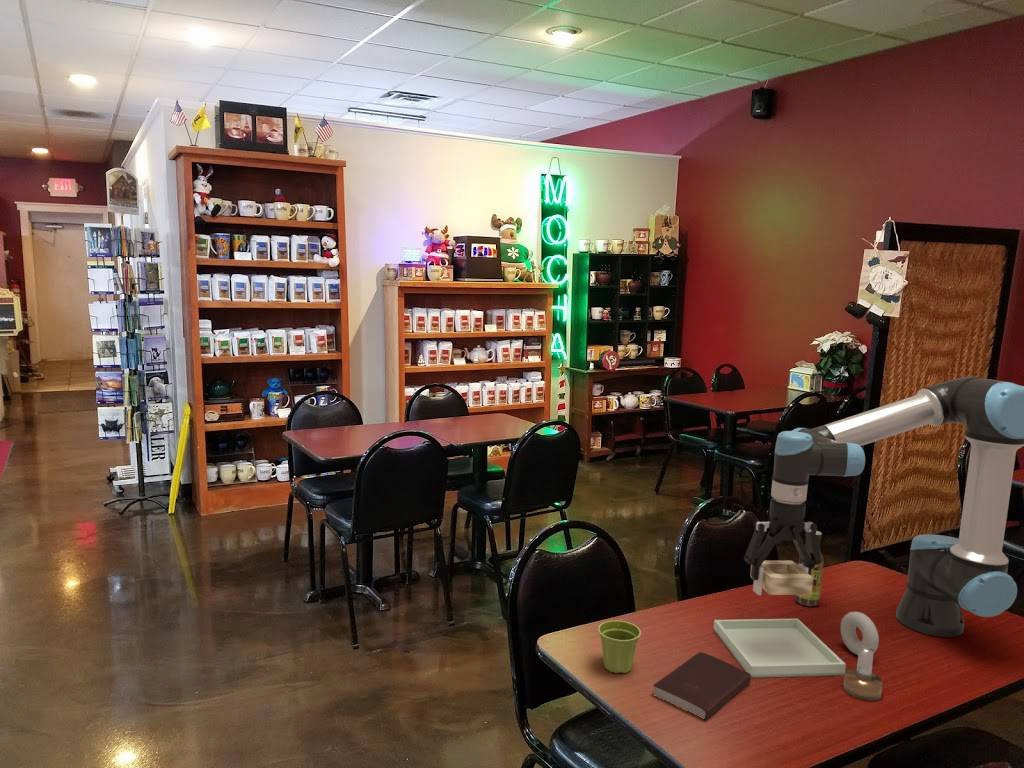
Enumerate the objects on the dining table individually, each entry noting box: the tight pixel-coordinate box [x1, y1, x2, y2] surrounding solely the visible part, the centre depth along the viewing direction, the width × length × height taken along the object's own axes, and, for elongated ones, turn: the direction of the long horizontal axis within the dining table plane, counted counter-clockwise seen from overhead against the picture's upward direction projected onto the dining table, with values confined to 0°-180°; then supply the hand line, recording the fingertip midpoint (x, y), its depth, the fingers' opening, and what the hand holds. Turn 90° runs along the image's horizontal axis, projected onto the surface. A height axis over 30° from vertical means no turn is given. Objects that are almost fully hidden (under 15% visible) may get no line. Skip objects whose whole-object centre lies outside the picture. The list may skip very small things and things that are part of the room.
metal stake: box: [842, 646, 883, 702], centre depth 150 cm, size 7×7×10 cm
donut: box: [840, 611, 880, 656], centre depth 166 cm, size 10×4×10 cm, turn 19°
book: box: [652, 651, 751, 721], centre depth 150 cm, size 12×19×3 cm, turn 136°
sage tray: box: [713, 618, 847, 678], centre depth 166 cm, size 22×22×3 cm
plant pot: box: [597, 619, 642, 674], centre depth 157 cm, size 9×9×9 cm
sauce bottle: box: [794, 530, 825, 607], centre depth 192 cm, size 6×6×20 cm
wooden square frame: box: [749, 559, 813, 596], centre depth 164 cm, size 10×10×4 cm
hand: (779, 592), depth 165 cm, fingers closed on wooden square frame, 10 cm apart
